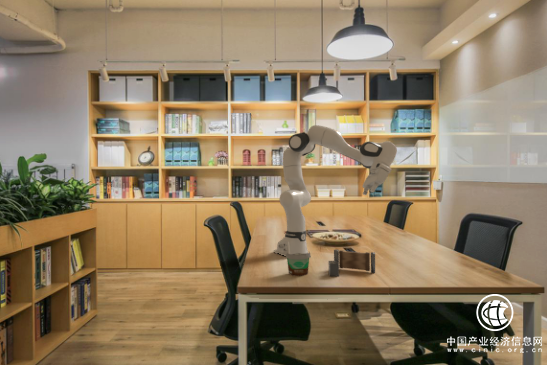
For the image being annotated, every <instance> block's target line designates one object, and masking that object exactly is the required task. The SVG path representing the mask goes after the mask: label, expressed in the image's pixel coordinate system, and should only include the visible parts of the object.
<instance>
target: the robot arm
mask: <svg viewBox="0 0 547 365" xmlns="http://www.w3.org/2000/svg"><path fill="white" fill-rule="evenodd" d="M316 145H318V146H320V147H323V148H327V149H328V150H332V151H334V152H336V153H338V154H340V155H342V156H344V157H346V158H349V159H351V160H353V161H356V162H358V163H359V164H360V165H361V166H363V167H364V168H365V169H368V170H369V172H370V173H369V174H368V175H367V176H366V178H365V180H364V181H363V184H362V186H361V187H362V188H363V192H362V195H364V196H367V194H369V192H370V193H375V191H376V190H377V188H378V187H379V186H381V185H382V184H384V182H386V180H387V177H388V176H389V174H390V173H392V170H393V169H392V168H391V165H392V163H394V160H395V159H396V155H397V152H398V148H397V146H396V145H395V144H394V143H393V142H392V141H389V140H388V141H387V140H386V141H381V142H374V141H366V142H363V143H362V144H361V145H360V147H359V149H358V148H357V147H356V148H355V147H353V146H351V145H350V144H348V142H346V140H345V139H344V137H343V136H342V134H341V132H340V131H337V130H335V129H334V128H331V127H327V126H324V125H317V124H313V125H311V126H310V127H309V129H308V131H307V132H305V131H302V132H300V133H299V132H298V133H294V134H292V135H291V136H290V137H289V139H288V147H289V148H286V149H285V150H284V151H283V152H282V167H283V178H284V182H285V183H286V184H287V185H288V186H287V187H288V188H289V189H287V190H285V191H283V192H281V194H280V195H279V199H278V200H279V203H280V205H281V207H283V210H284V212H285V217H286V230H284V237H283V238H281V239H280V240H279V241H278V243H277V246H276V249H274V250H273V251H274V252H276V253H275V254H277V253H279V254H281V255H280V256H282V255H284V256H286V254H287V253H288V254H296V253H302V254H306V253H309V249H308V247H307V246H308V243H307V230H306V217H305V215H304V214H303V211H302V207H305V206H307V205H308V204H310V203H311V200H312V196H311V193H310V191H309V190H308V189H307V186H306V184H305V180H304V177H303V167H302V162H301V161H302V159H301V158H302V157H305V156H306V155H309V154H311V153H312V152H313V151H314V150H315V149H316ZM274 252H273V253H274ZM279 254H278V255H279ZM284 256H283V257H284Z"/></svg>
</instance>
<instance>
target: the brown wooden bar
mask: <svg viewBox="0 0 547 365" xmlns="http://www.w3.org/2000/svg"><path fill="white" fill-rule="evenodd" d="M339 269H351V270H359V271H366V272H371V252H360V251H358V252H357V251H356V252H355V251H344V250H340V249H339Z"/></svg>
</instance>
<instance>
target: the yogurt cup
mask: <svg viewBox="0 0 547 365" xmlns="http://www.w3.org/2000/svg"><path fill="white" fill-rule="evenodd" d="M311 256H312V255H311V252H310V251H308V253H306V254H302V253H296V254H288V253H287V254H286V257H285V258H286V262H287V270H288V274H289V275H290V274H291V275H290V276H295V277H303V276H307V275H308V274H309V267H310V265H309V264H310V258H311Z"/></svg>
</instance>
